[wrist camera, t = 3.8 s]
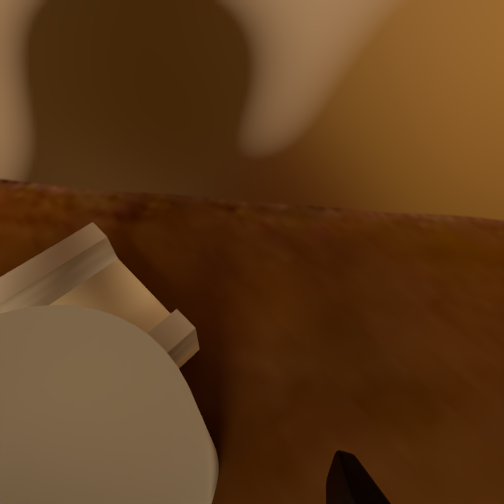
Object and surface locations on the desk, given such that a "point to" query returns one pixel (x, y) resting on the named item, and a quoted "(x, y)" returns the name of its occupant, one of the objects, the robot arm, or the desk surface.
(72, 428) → the beige piece
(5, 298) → the sliding track
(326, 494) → the robot arm
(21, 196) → the desk surface
